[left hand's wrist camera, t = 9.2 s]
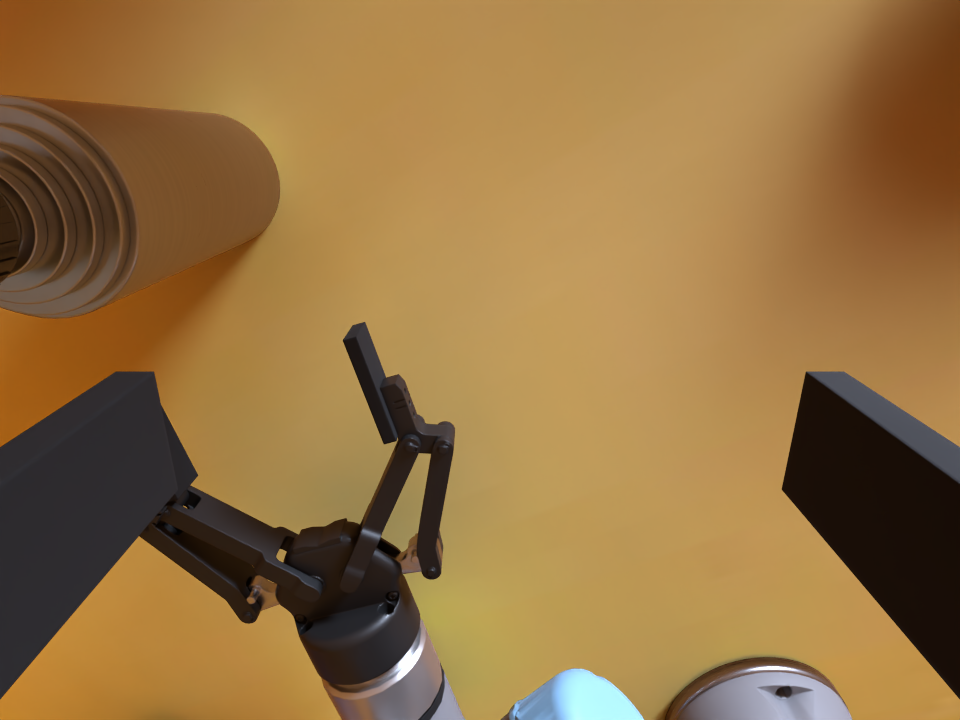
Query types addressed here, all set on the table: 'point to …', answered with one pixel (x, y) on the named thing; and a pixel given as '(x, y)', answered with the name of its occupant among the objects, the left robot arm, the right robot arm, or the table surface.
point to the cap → (7, 240)
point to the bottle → (122, 198)
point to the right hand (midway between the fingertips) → (240, 362)
